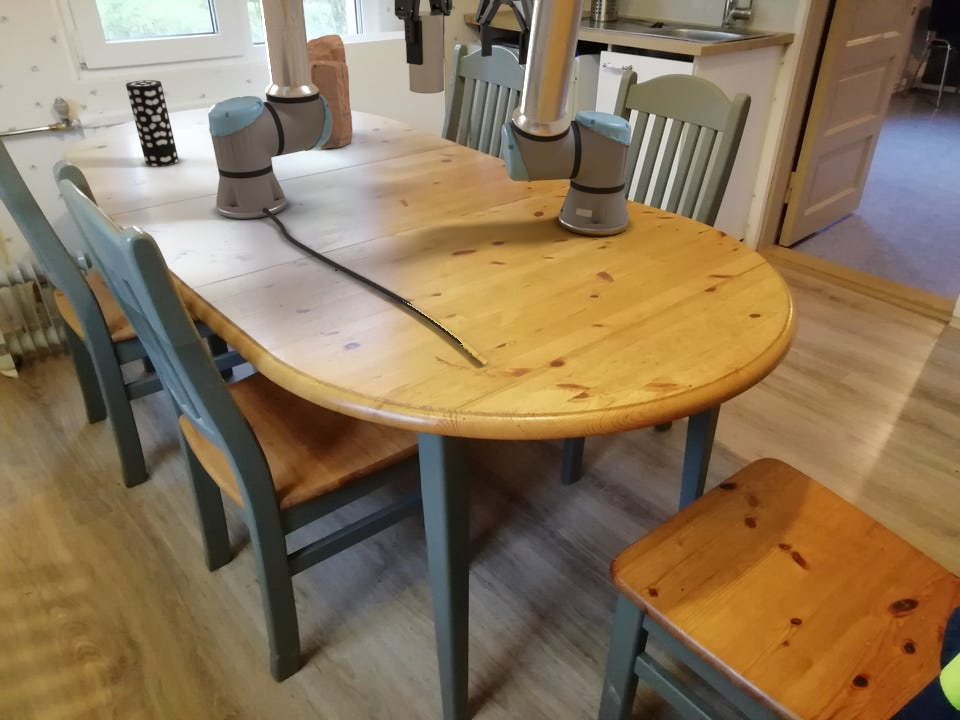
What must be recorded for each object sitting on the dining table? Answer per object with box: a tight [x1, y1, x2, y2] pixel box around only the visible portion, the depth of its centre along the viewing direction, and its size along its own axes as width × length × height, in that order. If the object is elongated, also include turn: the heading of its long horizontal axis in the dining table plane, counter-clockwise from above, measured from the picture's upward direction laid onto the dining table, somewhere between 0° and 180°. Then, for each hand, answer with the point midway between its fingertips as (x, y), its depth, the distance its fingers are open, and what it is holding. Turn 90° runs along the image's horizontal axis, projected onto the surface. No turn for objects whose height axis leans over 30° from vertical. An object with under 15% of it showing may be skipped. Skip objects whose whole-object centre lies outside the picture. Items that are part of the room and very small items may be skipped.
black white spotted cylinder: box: [125, 79, 179, 167], centre depth 181 cm, size 8×8×20 cm
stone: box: [307, 34, 354, 149], centre depth 199 cm, size 22×11×28 cm, turn 18°
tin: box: [408, 10, 445, 95], centre depth 116 cm, size 6×6×12 cm
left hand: (425, 60), depth 116 cm, fingers closed on tin, 6 cm apart
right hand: (504, 60), depth 165 cm, fingers open, 13 cm apart
